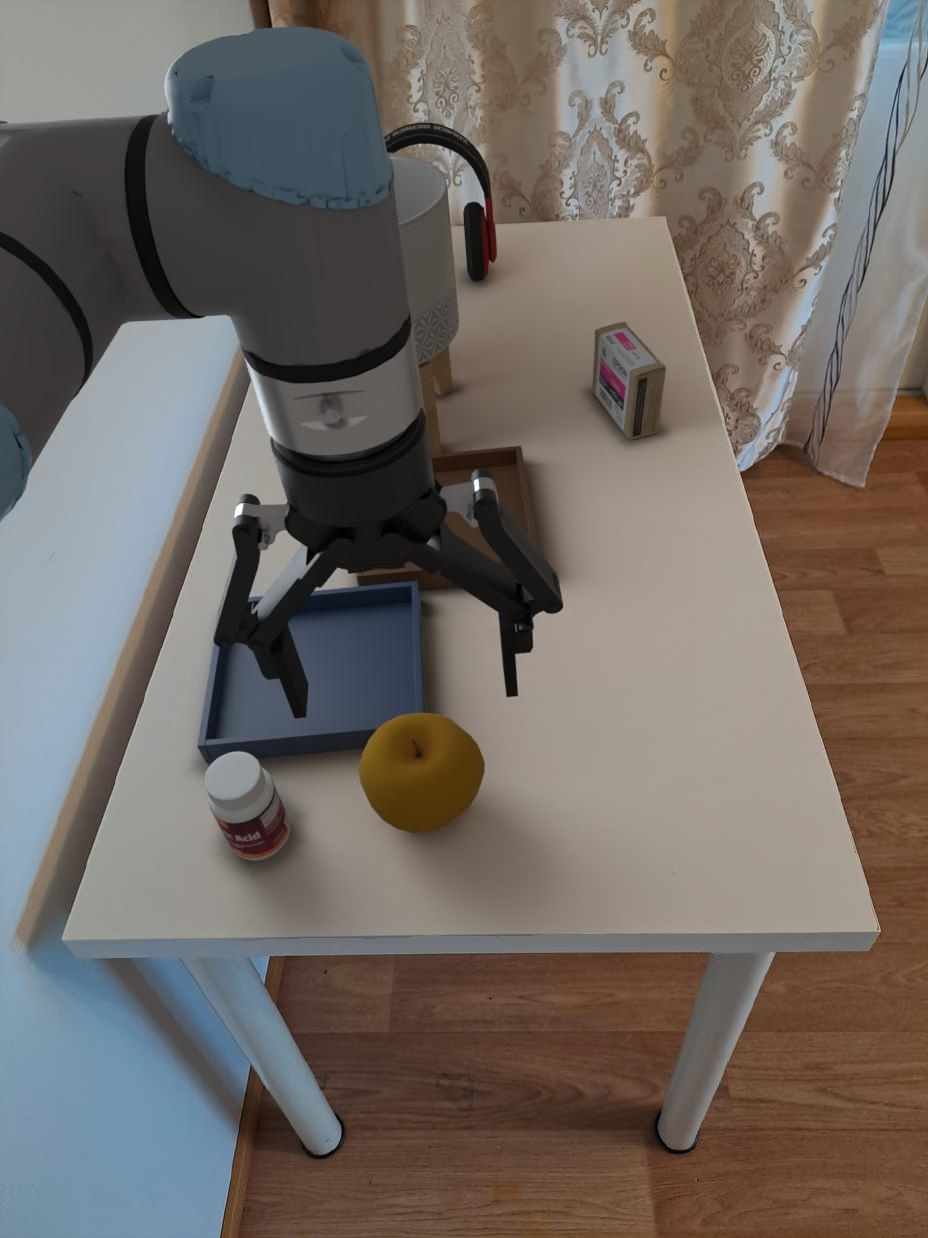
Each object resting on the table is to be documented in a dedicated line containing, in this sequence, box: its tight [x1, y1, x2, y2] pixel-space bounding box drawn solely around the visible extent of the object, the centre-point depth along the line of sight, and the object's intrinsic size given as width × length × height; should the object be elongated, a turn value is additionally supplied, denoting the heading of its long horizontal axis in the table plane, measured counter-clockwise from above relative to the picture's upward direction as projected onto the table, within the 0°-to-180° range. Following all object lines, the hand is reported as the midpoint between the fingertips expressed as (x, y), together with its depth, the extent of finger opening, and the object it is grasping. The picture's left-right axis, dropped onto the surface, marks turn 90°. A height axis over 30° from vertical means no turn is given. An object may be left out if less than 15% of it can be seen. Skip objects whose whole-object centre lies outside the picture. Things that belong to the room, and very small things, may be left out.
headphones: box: [384, 122, 498, 282], centre depth 118 cm, size 18×10×20 cm, turn 92°
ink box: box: [591, 321, 667, 441], centre depth 99 cm, size 10×4×8 cm, turn 18°
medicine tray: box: [355, 445, 541, 591], centre depth 90 cm, size 17×17×3 cm
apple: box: [358, 712, 486, 834], centre depth 67 cm, size 9×9×9 cm
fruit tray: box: [197, 581, 427, 765], centre depth 78 cm, size 18×16×3 cm
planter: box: [387, 152, 460, 455], centre depth 95 cm, size 19×19×26 cm
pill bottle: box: [203, 752, 291, 861], centre depth 66 cm, size 5×5×8 cm
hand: (405, 691), depth 59 cm, fingers open, 13 cm apart
